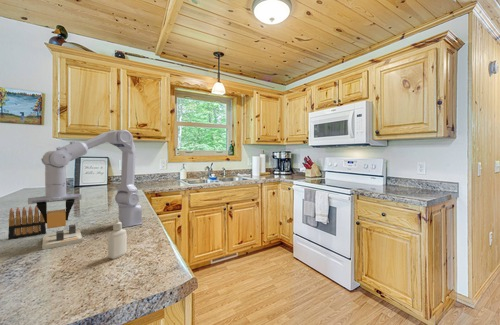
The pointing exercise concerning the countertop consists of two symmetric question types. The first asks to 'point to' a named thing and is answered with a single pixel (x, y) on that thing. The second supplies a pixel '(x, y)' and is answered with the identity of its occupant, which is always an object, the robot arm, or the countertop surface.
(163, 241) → the countertop surface
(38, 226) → the ammunition clip
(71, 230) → the block
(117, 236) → the eye dropper bottle
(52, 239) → the panel
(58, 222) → the cap
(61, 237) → the block
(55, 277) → the countertop surface
